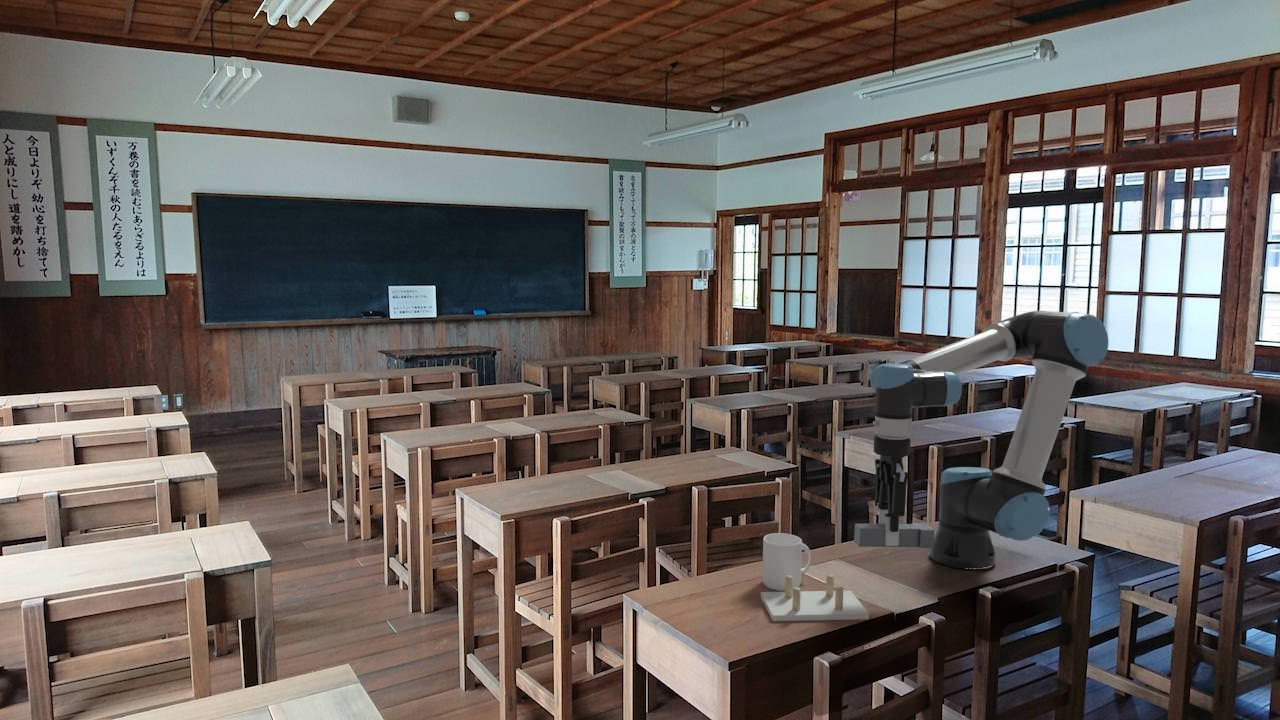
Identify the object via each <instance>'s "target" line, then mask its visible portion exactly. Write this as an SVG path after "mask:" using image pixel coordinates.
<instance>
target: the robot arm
mask: <svg viewBox="0 0 1280 720" xmlns="http://www.w3.org/2000/svg"><path fill="white" fill-rule="evenodd" d="M1108 349H1109V334H1108V332H1107V330H1106V326H1105V324H1104V323H1103V321H1101V319H1099V318H1098V317H1097V316H1095V315H1092V314H1090V313H1083V312H1082V313H1081V312H1079V311H1072V312H1069V311H1050V310H1034V311H1033V310H1032V311H1029V312H1024V313H1021V314H1017V315H1014V316H1010V317H1009V318H1005V319H1003V320H1001V321H997V322H995V323H992V324H990V325H988V327H986V329H985V331H982V332H981V333H977V334H974V335H972V336H969V337H967V338H964V339H962V340H959V341H956V342H953V343H950V344H948V345H945V346H943V347H940V348H937V349H934V350H932V351H929V352H926V353H924V354H921V355H918V356H916V357H913V358H910V359H907V360H905V361H901V362H898V363H881V364H879V365H878V364H877V365H876V366H875V367H874V369H873V370H872V371H871V373H870V377H869V382H870V387H871V389H872V390H873V391H874V392H875V400H874V401H875V402H874V403H875V407H874V420H873V421H872V425H873V426H874V433H875V434H876V435H875V436H874V437H873V453H875V454H876V455H878V456H880V457H879V458H875V459H874V465H875V466H874V467H875V491H874V492H875V493H874V495H875V496H874V497H875V498H874V499H875V500H874V501H875V503H876V504H877V507H878V524H886V529H885V545H886V546H898V545H899V524H900V520H901V519H900V518H901V517H905V512H906V501H907V499H906V497H907V484H908V479H909V472H906V471H904V463H903V458H904V457H908V456H909V455H910V454H911V439H910V436H911V435H912V426H913V425H912V423H913V416H912V415H913V409H914V408H916V409H917V408H930V407H931V408H932V407H941V408H942V407H943V408H944V407H947V406H952V405H956V404H957V402H959V400H961V399H960V398H961V397H962V392H963V390H962V388H963V384H962V382H961V379H960V377H959V375H962V374H964V373H968V372H970V371H973V370H975V369H978V368H981V367H983V366H986V365H988V364H990V363H994V362H996V361H1001V362H1008V361H1011V360H1013V359H1020V358H1021V359H1022V358H1026V359H1027V358H1028V359H1030V358H1031V363H1032V365H1033V367H1034V368H1035V373H1034V375H1033V377H1032V380H1031V383H1030V386H1029V389H1028V392H1027V394H1026V397H1025V400H1024V403H1023V406H1022V408H1021V412H1020V414H1019V417H1018V420H1017V422H1016V423H1017V424H1016V426H1015V430H1014V432H1013V435H1012V438H1011V440H1010V443H1009V446H1008V449H1007V452H1006V454H1005V457H1004V460H1003V463H1002V466H1000V467H997V468H995V469H993V471H992V470H991V469H989V468H985V467H984V468H983V467H975V466H974V467H972V466H959V467H958V466H957V467H949V468H946V469H945V470H943V471H942V473H941V477H940V478H941V479H940V483H939V507H938V508H939V509H938V510H939V511H938V513H939V514H938V515H939V516H938V518H939V519H938V527H937V530H936V533H934V547H933V548H929V550H930V551H929V556H930V558H931V559H932V560H933V561H934V562H936V561H937V562H936V563H938V562H939V563H938V564H940V563H941V565H943V564H944V566H946V565H947V567H950V566H951V568H954V567H956V568H955V569H959V568H968V569H969V568H972V569H973V568H983V567H988V566H991V565H993V564H994V563H995V564H996V559H997V558H996V557H997V554H996V551H995V548H994V544H993V541H992V537H991V534H990V531H991V532H993V533H995V534H998V536H1000V537H1004V538H1005V539H1006V538H1008V539H1010V540H1011V539H1012V540H1015V541H1017V542H1019V541H1020V542H1021V541H1022V542H1023V541H1028V540H1031V539H1032V538H1034V537H1036V536H1038V535H1040V534H1041V532H1042V531H1043V529H1045V527H1046V526H1047V524H1048V522H1049V520H1050V516H1051V515H1050V514H1051V508H1050V504H1049V501H1048V499H1047V498H1046V496H1045V493H1046V490H1047V488H1046V486H1045V484H1044V482H1043V480H1042V479H1043V476H1044V474H1045V473H1044V472H1045V470H1046V467H1047V464H1048V461H1049V459H1050V456H1051V453H1052V451H1053V447H1054V445H1055V442H1056V439H1057V437H1058V436H1057V435H1058V434H1059V430H1060V428H1061V424H1062V421H1063V419H1064V416H1065V413H1066V410H1067V407H1068V405H1069V401H1070V399H1071V396H1072V393H1073V390H1074V386H1075V384H1076V382H1077V381H1078V380H1081V379H1082V378H1085V377H1086V375H1087V373H1088V370H1089V368H1090V367H1093V366H1096V365H1098V364H1099V363H1100V362H1102V361H1103V360H1104V359H1105V357H1106V355H1107V352H1108Z"/></svg>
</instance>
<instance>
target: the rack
mask: <svg viewBox="0 0 1280 720" xmlns="http://www.w3.org/2000/svg"><path fill="white" fill-rule="evenodd" d="M825 580H826V581H825V583H826V584H825V590H807V591H806V590H805V591H801V587H800V586H799V587H794V588H793V576H791V575H786V576H785V591H761V592H760V599H761V601H762V603H763V605H764V607H765V609H766V611H767V613H768V614H769V617H770V620H771V621H772V622H793V621H794V622H796V621H797V622H799V621H803V622H804V621H805V622H807V621H846V620H847V621H848V620H849V621H850V620H851V621H855V620H856V621H857V619H858V620H869V619H870V613H869V612H868V610H867V609H866V608H865V606H864V605H863V604H862V602H860V600H859V598H857V597H856V595H855V594H854V593H853V591H852V590H844V587H843V586H835V575H833V574H826V579H825ZM834 588H835V590H834Z"/></svg>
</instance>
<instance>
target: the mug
mask: <svg viewBox="0 0 1280 720" xmlns="http://www.w3.org/2000/svg"><path fill="white" fill-rule="evenodd" d="M762 542H763V543H762V546H763V547H762V584H763V585H764V586H765V587H767V588H768V589H770V590H773V591H776V592H785V576H786V575H791V576H793V588H794V587H799V588H800V586H801V581H802V578H801V577H802V576H803V575H805V574H806V573H807V571H808V570H809V568H810V566H811V561H812V560H811V559H812V554H811V549H810V548H809V547H808V545H806V544H805V543H803V540H802V538H801V537H799V536H797V535H794V534H791V533H783V532H782V533H781V532H779V533H778V532H775V533H769V534H766V535H764V536H763V539H762ZM803 551H805V552H806V553H807V554H808V562H807V564H806V565H805V566H804V567H802V552H803Z"/></svg>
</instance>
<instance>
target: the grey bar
mask: <svg viewBox="0 0 1280 720" xmlns="http://www.w3.org/2000/svg"><path fill="white" fill-rule="evenodd" d="M885 529H886V524H879V523H854V535H853V542H854V543H855V544H856V545H857V547H861V548H863V547H865V548H870V547H871V548H919V549H930V548H933V547H934V537H935V529H934V528H932V527H931V526H930V525H928V524H927V523H925V522H911V523H899V545H898V546H886V545H885Z"/></svg>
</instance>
